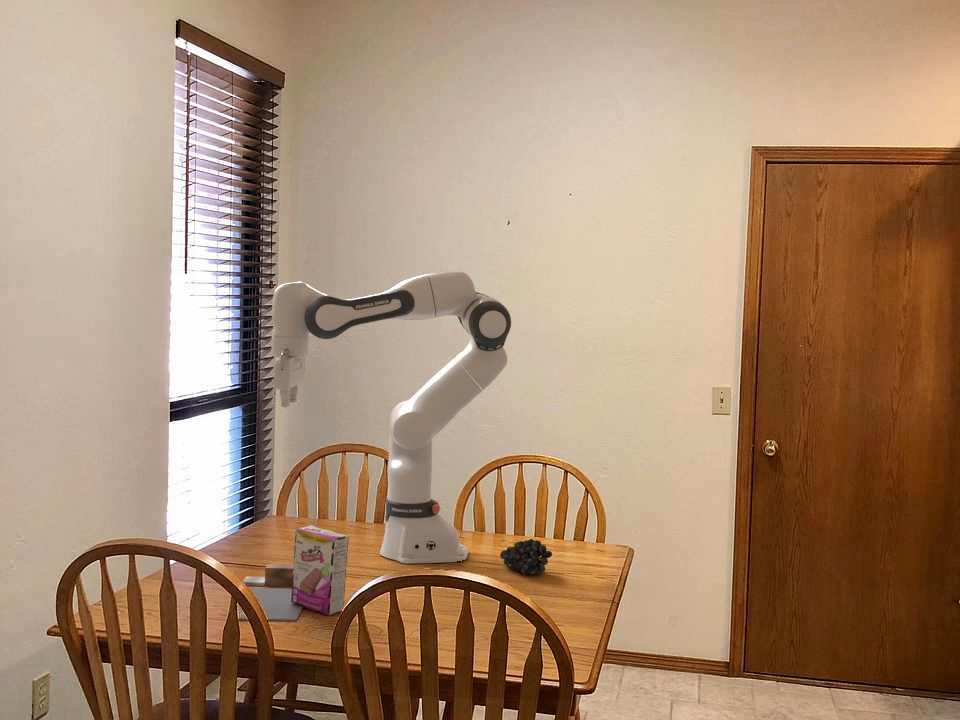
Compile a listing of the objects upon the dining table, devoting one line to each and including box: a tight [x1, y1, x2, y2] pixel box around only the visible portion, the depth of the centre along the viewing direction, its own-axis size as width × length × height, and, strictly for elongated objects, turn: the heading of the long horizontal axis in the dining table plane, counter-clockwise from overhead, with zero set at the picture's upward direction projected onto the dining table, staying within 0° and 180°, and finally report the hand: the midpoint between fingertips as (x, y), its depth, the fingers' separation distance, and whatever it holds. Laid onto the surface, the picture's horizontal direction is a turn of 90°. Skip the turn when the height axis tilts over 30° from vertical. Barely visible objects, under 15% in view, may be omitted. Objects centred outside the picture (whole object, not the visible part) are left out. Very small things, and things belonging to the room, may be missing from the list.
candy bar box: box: [291, 525, 349, 616], centre depth 208 cm, size 11×5×16 cm, turn 57°
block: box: [242, 563, 294, 587], centre depth 225 cm, size 13×4×4 cm, turn 91°
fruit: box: [499, 538, 553, 576], centre depth 242 cm, size 9×8×15 cm
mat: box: [238, 587, 304, 622], centre depth 211 cm, size 14×20×1 cm
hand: (289, 404), depth 242 cm, fingers open, 8 cm apart
